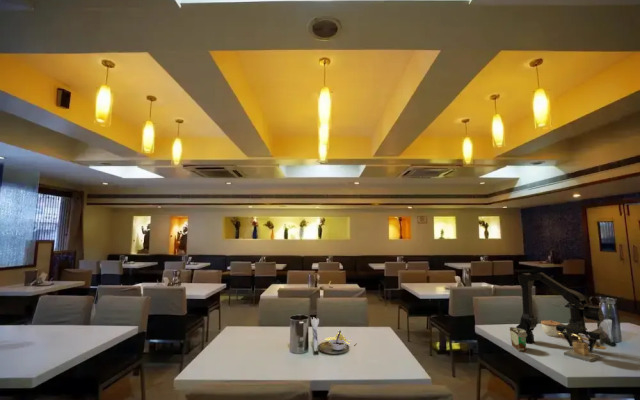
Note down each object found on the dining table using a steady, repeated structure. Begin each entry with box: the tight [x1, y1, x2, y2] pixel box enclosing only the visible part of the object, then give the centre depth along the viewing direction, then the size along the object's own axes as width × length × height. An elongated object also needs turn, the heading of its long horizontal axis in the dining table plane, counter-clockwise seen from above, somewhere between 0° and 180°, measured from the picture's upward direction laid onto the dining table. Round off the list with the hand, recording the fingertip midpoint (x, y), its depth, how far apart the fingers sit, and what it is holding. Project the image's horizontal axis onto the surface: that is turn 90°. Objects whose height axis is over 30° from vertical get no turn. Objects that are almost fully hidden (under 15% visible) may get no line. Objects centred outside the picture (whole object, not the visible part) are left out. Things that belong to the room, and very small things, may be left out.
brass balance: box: [557, 332, 607, 351], centre depth 170 cm, size 22×6×8 cm, turn 28°
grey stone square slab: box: [563, 348, 601, 363], centre depth 158 cm, size 11×11×1 cm
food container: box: [509, 326, 527, 353], centre depth 170 cm, size 12×6×10 cm, turn 168°
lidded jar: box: [540, 319, 562, 338], centre depth 194 cm, size 11×11×9 cm
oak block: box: [572, 340, 590, 356], centre depth 159 cm, size 4×4×6 cm
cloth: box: [324, 331, 351, 344], centre depth 183 cm, size 22×19×6 cm
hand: (580, 348), depth 159 cm, fingers open, 8 cm apart
